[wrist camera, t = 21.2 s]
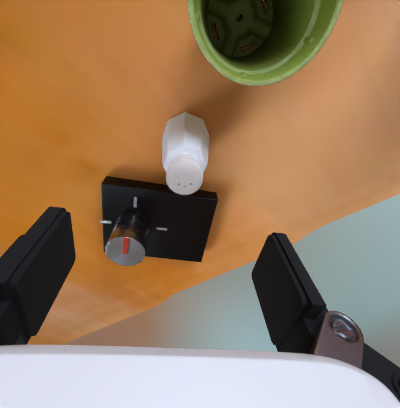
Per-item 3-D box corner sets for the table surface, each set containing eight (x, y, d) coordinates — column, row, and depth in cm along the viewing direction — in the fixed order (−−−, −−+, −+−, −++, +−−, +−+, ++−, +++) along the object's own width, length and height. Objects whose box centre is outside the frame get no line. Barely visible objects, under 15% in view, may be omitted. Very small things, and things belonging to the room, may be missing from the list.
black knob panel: (105, 242, 34) (101, 252, 33) (103, 175, 29) (98, 183, 27) (200, 252, 36) (201, 263, 35) (216, 192, 31) (218, 200, 29)
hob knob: (149, 239, 32) (143, 269, 27) (116, 235, 31) (104, 265, 27) (152, 214, 30) (146, 242, 25) (117, 208, 29) (104, 236, 25)
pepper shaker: (209, 158, 28) (219, 209, 19) (164, 160, 28) (152, 211, 19) (209, 111, 25) (222, 143, 16) (159, 112, 25) (142, 145, 16)
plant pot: (273, -88, 18) (333, -190, 10) (303, 45, 22) (359, 39, 15) (167, -14, 20) (155, -55, 12) (215, 94, 24) (226, 111, 17)
